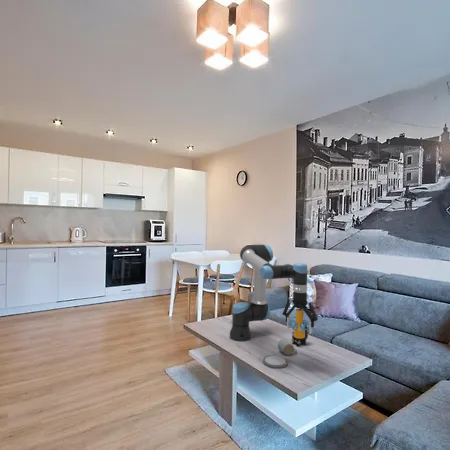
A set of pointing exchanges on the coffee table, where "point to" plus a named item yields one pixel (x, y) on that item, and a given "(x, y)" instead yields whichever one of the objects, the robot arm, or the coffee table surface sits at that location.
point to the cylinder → (299, 324)
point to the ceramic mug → (286, 347)
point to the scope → (298, 341)
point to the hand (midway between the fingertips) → (299, 330)
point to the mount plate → (275, 361)
